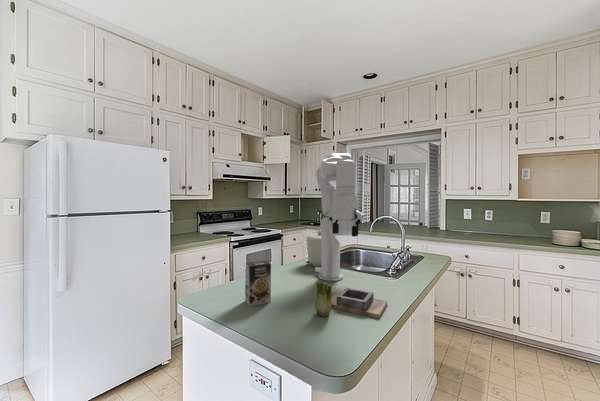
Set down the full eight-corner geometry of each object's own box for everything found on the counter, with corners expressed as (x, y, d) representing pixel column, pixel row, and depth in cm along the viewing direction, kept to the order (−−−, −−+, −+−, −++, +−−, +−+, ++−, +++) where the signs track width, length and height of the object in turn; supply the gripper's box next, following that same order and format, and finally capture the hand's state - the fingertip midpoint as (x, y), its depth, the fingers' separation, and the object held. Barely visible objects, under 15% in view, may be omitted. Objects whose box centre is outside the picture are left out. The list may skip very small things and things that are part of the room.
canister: (300, 266, 169) (301, 231, 168) (310, 259, 186) (310, 227, 185) (330, 270, 163) (331, 233, 162) (337, 262, 180) (338, 228, 179)
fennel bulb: (333, 316, 105) (333, 284, 104) (322, 319, 102) (322, 286, 102) (323, 310, 110) (323, 279, 109) (312, 313, 107) (313, 281, 107)
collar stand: (323, 306, 114) (323, 295, 113) (335, 294, 126) (335, 284, 126) (379, 318, 103) (379, 306, 103) (387, 304, 116) (387, 293, 115)
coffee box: (249, 306, 113) (249, 266, 112) (244, 300, 118) (244, 262, 117) (271, 302, 117) (271, 263, 116) (265, 297, 122) (265, 259, 122)
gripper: (322, 191, 118) (322, 233, 118) (357, 191, 105) (357, 238, 105) (334, 192, 123) (334, 231, 123) (369, 191, 110) (368, 236, 110)
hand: (344, 234), depth 114 cm, fingers open, 9 cm apart
